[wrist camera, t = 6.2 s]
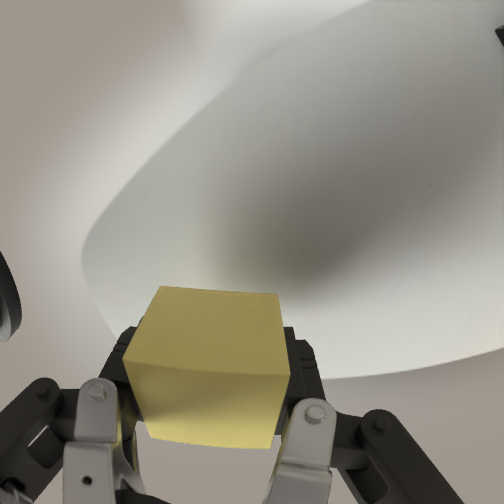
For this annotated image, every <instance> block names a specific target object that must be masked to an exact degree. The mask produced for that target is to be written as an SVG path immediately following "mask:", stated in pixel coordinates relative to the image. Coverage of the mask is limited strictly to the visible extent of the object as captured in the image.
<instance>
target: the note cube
mask: <svg viewBox="0 0 504 504" xmlns="http://www.w3.org/2000/svg"><path fill="white" fill-rule="evenodd" d="M123 363H124V366H125V369H126V372H127V375H128V378H129V381H130V384H131V387H132V390H133V393H134V396H135V399H136V401H137V404H138V407H139V409H140V412H141V414H142V417H143V419H144V422H145V424H146V427H147V429H148V431H149V434H150V436H151V437H152V438H157V439H162V440H168V441H174V442H181V443H188V444H196V445H204V446H215V447H229V448H250V449H251V448H252V449H270V447H271V444H272V441H273V438H274V434H275V431H276V427H277V423H278V420H279V416H280V413H281V409H282V405H283V401H284V398H285V394H286V390H287V386H288V382H289V378H290V368H289V361H288V355H287V348H286V342H285V335H284V329H283V322H282V316H281V310H280V304H279V298H278V294H268V293H249V292H233V291H218V290H205V289H192V288H180V287H168V286H160V287H159V289H158V291H157V292H156V294H155V296H154V298H153V300H152V302H151V303H150V305H149V307H148V309H147V311H146V313H145V315H144V317H143V318H142V320H141V322H140V324H139V326H138V328H137V330H136V332H135V334H134V336H133V338H132V340H131V342H130V344H129V346H128V348H127V350H126V352H125V354H124V356H123Z"/></svg>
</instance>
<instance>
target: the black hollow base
mask: <svg viewBox="0 0 504 504" xmlns="http://www.w3.org/2000/svg"><path fill="white" fill-rule="evenodd" d="M495 32H496V33H497V35H498V37H499V38H500V40H501V42H502V44H503V46H504V25H503V26H501V27H499V28H498V29H496V30H495Z"/></svg>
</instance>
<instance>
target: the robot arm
mask: <svg viewBox="0 0 504 504" xmlns="http://www.w3.org/2000/svg"><path fill="white" fill-rule="evenodd" d="M143 317H144V316H143ZM143 317H142V318H143ZM142 318H141V320H142ZM141 320H140V322H141ZM140 322H139V324H140ZM1 324H2V318H1V312H0V328H1ZM139 324H138V326H139ZM138 326H137V327H133V326H130V327H129V328H128V329H126V330H125V331H124V332H123V333H122V334H121V335H120V337H119V339H118V341H117V344H116V345H115V347H114V349H113V351H112V352H111V354H110V356H109V357H108V359H107V361H106V363H105V365H104V367H103V369H102V371H101V373H100V375H99V377H98V378H94V379H91V380H89V381H87V382H85V383H84V384H83V385H82V387H81V388H80V389H60V388H59V386H58V384H57V383H56V382H55V381H54V380H53V379H50V378H39V379H37V380H35V381H33V382H32V383H31V384H30V385H29V386H28V387H27V388H26V389H24V390H23V391H22V392H21V394H19V395H18V396H17V397H16V398H15V399H14V400H13V401H12V402H11V403H10V404H9V405H7V406H6V408H4V409H3V410H2V411H1V412H0V504H33V503H34V501H35V500H36V499H37V498H38V496H39V495H40V494H41V493H42V492H43V490H44V489H45V488H46V487H47V485H48V484H49V483H50V482H51V480H52V479H53V478H54V477H55V476H56V474H57V473H58V472H59V471H60V470H61V468H62V467H63V504H170V503H168V502H165V501H163V500H160V499H158V498H156V497H153V496H149V495H146V492H145V487H144V484H143V481H142V479H141V475H140V470H139V461H138V452H137V439H136V431H135V426H136V422H137V421H142V422H144V419H143V417H142V414H141V412H140V409H139V407H138V404H137V401H136V399H135V396H134V393H133V390H132V387H131V384H130V381H129V378H128V375H127V372H126V369H125V366H124V363H123V356H124V354H125V352H126V350H127V348H128V346H129V344H130V342H131V340H132V338H133V336H134V334H135V332H136V330H137V328H138ZM283 329H284V335H285V342H286V348H287V355H288V361H289V368H290V378H289V382H288V386H287V390H286V394H285V398H284V401H283V405H282V409H281V413H280V416H279V420H278V423H277V427H276V431H275V434H274V435H281V442H282V444H281V447H280V450H279V453H278V457H277V460H276V463H275V466H274V469H273V472H272V475H271V478H270V481H269V484H268V487H267V490H266V492H265V495H264V497H263V500H262V503H261V504H328V499H329V494H330V489H331V484H332V472H331V471H330V469H329V467H332V468H337V469H338V471H339V473H340V474H341V476H342V478H343V479H344V481H345V483H346V484H347V486H348V488H349V489H350V491H351V493H352V494H353V496H354V498H355V499H356V501H357V502H358V504H464V503H463V501H462V500H461V499H460V498H459V496H458V495H457V494H456V492H455V491H454V490H453V488H452V487H451V486H450V485H449V483H448V482H447V481H446V480H445V478H444V477H443V476H442V474H441V473H440V472H439V471H438V470H437V468H436V467H435V465H434V464H433V463H432V462H431V460H430V459H429V458H428V457H427V455H426V454H425V453H424V452H423V450H422V449H421V448H420V446H419V445H418V444H417V443H416V441H415V440H414V439H413V438H412V436H411V435H410V434H409V433H408V431H407V430H406V429H405V428H404V427H403V425H402V424H401V423H400V421H399V420H398V419H397V418H396V416H395V415H393V414H392V413H391V412H389V411H386V410H382V409H376V410H371V411H369V412H368V413H366V414H365V415H364V417H358V416H351V415H346V414H342V413H339V412H337V411H336V410H335V409H334V408H333V406H332V405H331V404H330V403H328V402H327V401H326V398H325V395H324V390H323V386H322V382H321V378H320V374H319V371H318V369H317V363H316V360H315V355H314V351H313V348H312V347H311V346H310V345H309V344H308V342H307V341H306V340H296V339H295V334H294V329H293V327H283ZM46 425H47V428H46V429H45V430H44V431H43V432H42V434H41V435H40V436H39V437H38V438H37V439H36V440H35V441H34V442H33V443H32V444H31V445H30V446H29V447H28V445H29V444H30V442H31V441H32V440H33V439H34V438H35V437H36V436H37V435H38V434H39V432H41V430H42V429H43V428H44V427H45V426H46Z"/></svg>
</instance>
